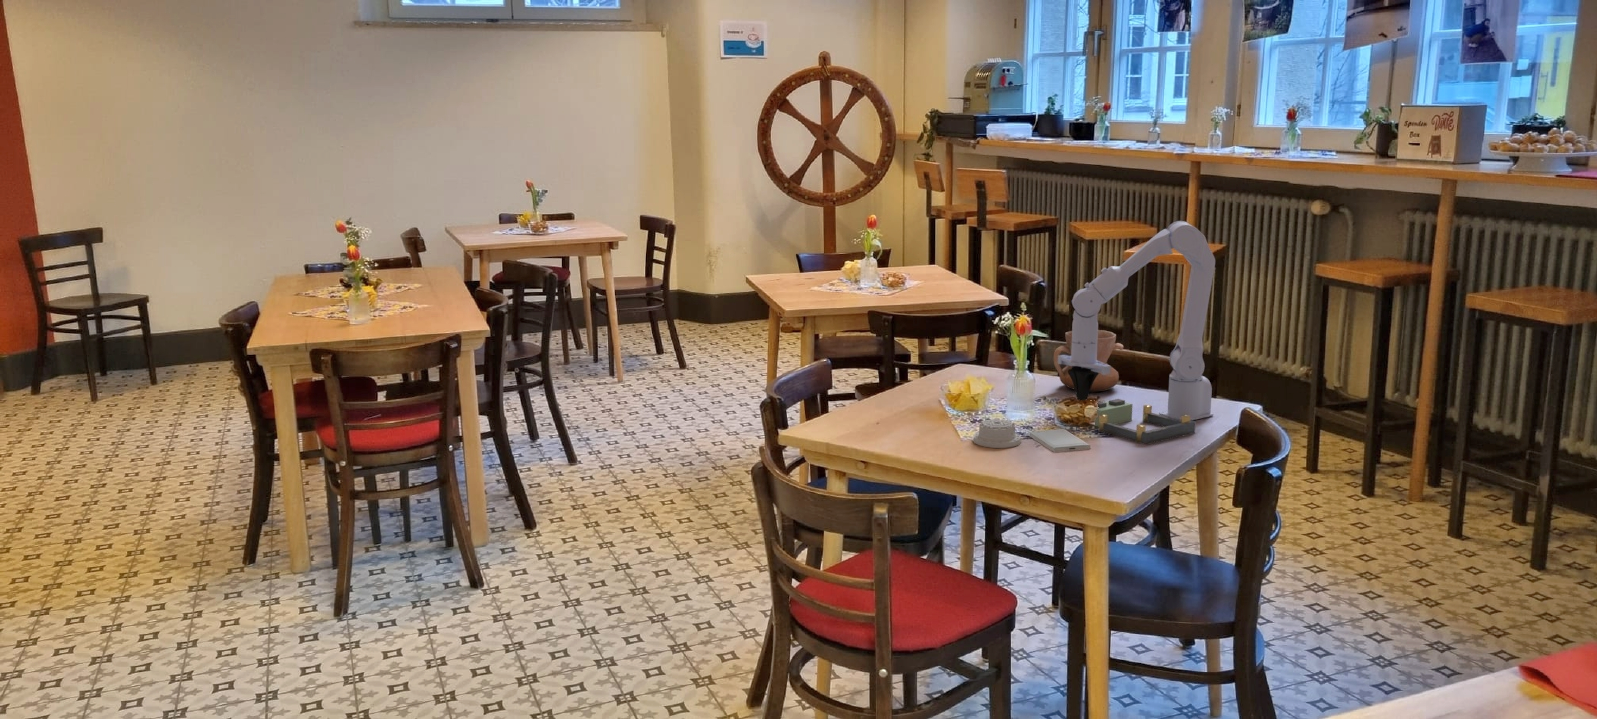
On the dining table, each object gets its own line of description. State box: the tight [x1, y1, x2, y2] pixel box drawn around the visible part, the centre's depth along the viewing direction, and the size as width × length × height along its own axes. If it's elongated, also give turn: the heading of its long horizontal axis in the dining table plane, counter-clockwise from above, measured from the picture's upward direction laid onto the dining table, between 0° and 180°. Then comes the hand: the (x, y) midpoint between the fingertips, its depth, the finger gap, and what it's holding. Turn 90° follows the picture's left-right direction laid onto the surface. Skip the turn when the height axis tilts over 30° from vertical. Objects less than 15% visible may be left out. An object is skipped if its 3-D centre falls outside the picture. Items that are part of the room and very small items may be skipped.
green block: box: [1094, 398, 1133, 428], centre depth 261 cm, size 10×5×5 cm, turn 123°
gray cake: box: [972, 418, 1022, 449], centre depth 247 cm, size 10×4×10 cm
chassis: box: [1098, 404, 1196, 446], centre depth 252 cm, size 16×14×4 cm
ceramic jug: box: [1052, 329, 1124, 393], centre depth 291 cm, size 18×14×14 cm
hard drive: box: [1029, 428, 1091, 453], centre depth 246 cm, size 2×8×12 cm
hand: (1082, 399), depth 267 cm, fingers closed
